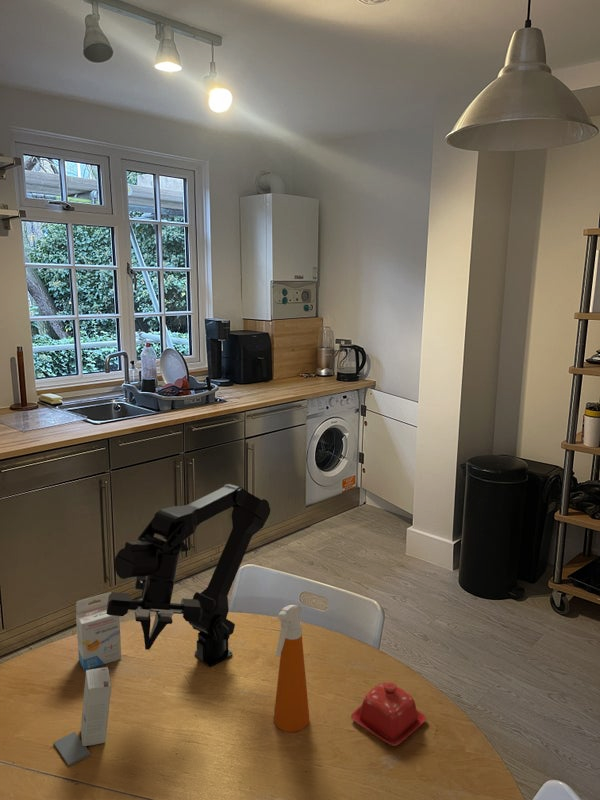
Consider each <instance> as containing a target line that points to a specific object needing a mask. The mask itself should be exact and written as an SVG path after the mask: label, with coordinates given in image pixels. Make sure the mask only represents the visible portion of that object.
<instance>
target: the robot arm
mask: <svg viewBox="0 0 600 800" xmlns="http://www.w3.org/2000/svg"><path fill="white" fill-rule="evenodd" d="M230 508H232V511H231V515H230V518H231V526H232V528H231V531H230V534H229V536H228V538H227V540H226V542H225V545H224V547H223V550H222V552H221V554H220V557H219V559H218V562H217V565H216V566H215V568H214V571H213V574H212V575H211V578H210V581H209V583H208V585H207V587H206V588H205V589H203V590H202V591H201V592H198V591H196V592H195V593H194V594H193V596H192V598H181V600H180V603H177V602H175V603H173V602H172V596H173V592H174V586H175V582H176V576H177V572H178V571H177V570H178V565H179V561H180V560H179V559H180V555H181V553H182V552H188V551H189V550H190V549H189V548H190V547H188V545H186V544H185V541H186V540H188V539H189V538H190V537H191V536H192V535H193V534H195V532H196V530H197V527H198V526H200V525H201V524H202V523H205V522H206V521H208V520H210V519H212V518H215V516H217V515H219V514H221V513H223V512H225V511H227V510H229V509H230ZM270 514H271V507H270V503H269V501H268V500H267V499H265V498H261V497H258V496H255V495H254V494H252V493H250V492H248V491H247V490H246V489H245V488H244V487H242V486H239V485H235V484H233V483H225V484H224V485H222V487H220V488H219V489H217V490H214V491H213V492H210V493H209V494H206V495H205V496H203V497H200V498H199V499H196V500H194V501H193V502H190V503H188V504H185V505H184V504H183V505H173V506H168V507H166V508H165V507H164V508H161V509H159V510H158V511H157V512H155V513H154V516H153V518H152V519H151V520H150V522H149V523H148V524H147V526H146V527H145V529H144V530H143V531H142V532H141V534H140V535H139V536H138V537H137V541H126V542H125V544H124V548H121V549H120V550H119V551H118V552H117V554H116V555H115V558H114V571H115V573H116V575H117V576H118V577H119V578H120V579H123V580H126V579H127V580H128V579H134V578H135V581H134V587H133V588H134V590H135V591H136V590H137V591H141V595H140V597H141V600H139V599H131V598H130V593H124V592H113V591H112V592H111V594H110V595H109V597H108V602H107V614H108V615H112V616H119V617H124V616H125V615H127V614H128V612H129V610H132V611H134V621H136V622H138V623H140V625H141V629H142V632H143V641H144V648H145V650H148V651H149V650H151V648H152V646H153V645H154V643H155V641H157V638H158V637H159V635H160V634H161V633H162V631H163V630H164V629H165V627H166V626H167V625H172V624H173V621H174V620H173V616H174V614H179V615H182V618H183V619H184V621H185V622H188V624H189V625H190V626H191V628H192V629H193V630H195V631H198V632H197V640H196V651H194V656H196V657H197V658H198V659H199V660H201V661H202V662H203V663H205V665H206V666H208V667H213V666H215V665H216V664H219V663H221V662H223V661H225V660H227V659H229V658H231V657H232V656H233V651H231V650H230V649H229V639H230V636H231V635H233V634H234V632H235V626H236V624H235V623H234V622H233V621H231V620H229V619H228V615H229V610H230V609H229V600H228V596H229V593H230V590H231V587H232V586H233V583H234V581H235V578H236V576H237V574H238V572H239V571H238V570H239V569H240V566H241V564H242V561H243V560H244V559H243V558H244V556H245V554H246V552H247V549H248V547H249V544H250V542H251V539H252V538H253V536H255V535H256V534H257V533H258V532H259V531H261V530H262V528H264V526H265V525H266V522H267V521H268V519H269V516H270ZM155 536H156V537H155ZM152 612H153V613H155V615H154V620H153V624H152V628H151V621H152V620H151V613H152Z"/></svg>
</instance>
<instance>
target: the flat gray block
mask: <svg viewBox="0 0 600 800" xmlns="http://www.w3.org/2000/svg"><path fill="white" fill-rule="evenodd" d="M53 746H54V747H55V748H56V750H57V751H58V753H59V754H60V756H61V757H62V758H63V760H64V762H65V763H66V765H67V766H68V767H70V766H72V765H75V764H76V763H78V762H79V761H82V760H83V759H84V760H85V758H87V757H89V756H91V752H90V750H89V749H88V748H87V746H83V745H82V738H80V736H79V735H78V734H77V733H76V731H73V732H71V733H69V734H67V735H65V736H63V737H62V738H59V739H57V740H56V741H54V742H53Z"/></svg>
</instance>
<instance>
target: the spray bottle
mask: <svg viewBox="0 0 600 800" xmlns="http://www.w3.org/2000/svg"><path fill="white" fill-rule="evenodd" d="M301 612H302V607H301V606H300V605H295V604H289V605H286V606H285V607H282V608H281V609H280V612H279V614H277V618H278V620H279V621H280V632H279V638H278V642H277V648H276V651H275V657H276V658H279V666H278V667H279V668H278V675H277V685H276V695H275V702H274V710H273V711H274V712H273V720H274V725H275V726H276V727H277V728H278V729H280V730H282V731H283V732H289V733H294V732H299V731H301V730H303V729H305V728H306V727H307V726H308V724H309V722H310V711H309V710H310V709H309V699H308V688H307V679H306V678H307V677H306V668H305V667H306V666H305V657H304V656H305V655H304V645H303V635H302V633H303V631H302V623H301V618H300V615H301Z"/></svg>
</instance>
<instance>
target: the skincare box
mask: <svg viewBox="0 0 600 800" xmlns="http://www.w3.org/2000/svg"><path fill="white" fill-rule="evenodd" d="M111 694H112V684H111V674H110V671H109V667H108V666H106V667H98V668H97V667H96V668H91V669H88V670H85V681H84V691H83V700H82V709H81V710H82V712H81V723H80V733H81V741H82V745H83V746H86V747H87V746H94V745H95V746H96V745H100V744H105V743H106V741H107V734H108V733H107V731H108V723H109V713H110V703H111Z"/></svg>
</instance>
